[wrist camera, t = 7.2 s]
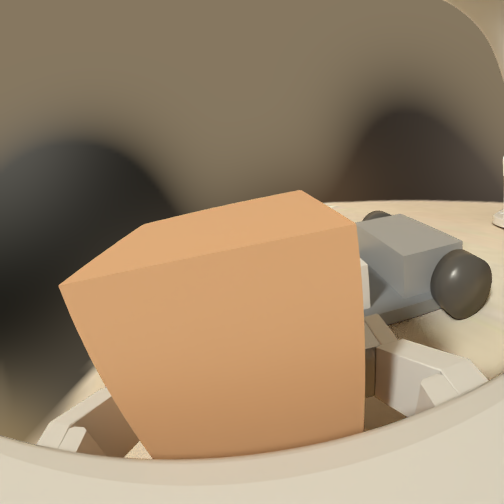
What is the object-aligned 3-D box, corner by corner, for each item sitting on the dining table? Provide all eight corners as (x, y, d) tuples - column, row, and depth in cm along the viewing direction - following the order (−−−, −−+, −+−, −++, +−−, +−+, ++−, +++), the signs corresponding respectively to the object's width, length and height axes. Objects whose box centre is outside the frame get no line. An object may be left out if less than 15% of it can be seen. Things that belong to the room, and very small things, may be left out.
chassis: (402, 242, 31) (399, 206, 30) (497, 304, 16) (503, 249, 14) (220, 280, 32) (211, 243, 31) (200, 383, 17) (178, 326, 15)
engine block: (330, 420, 12) (300, 190, 9) (355, 511, 7) (356, 224, 4) (221, 438, 12) (143, 224, 9) (215, 530, 7) (58, 285, 5)
